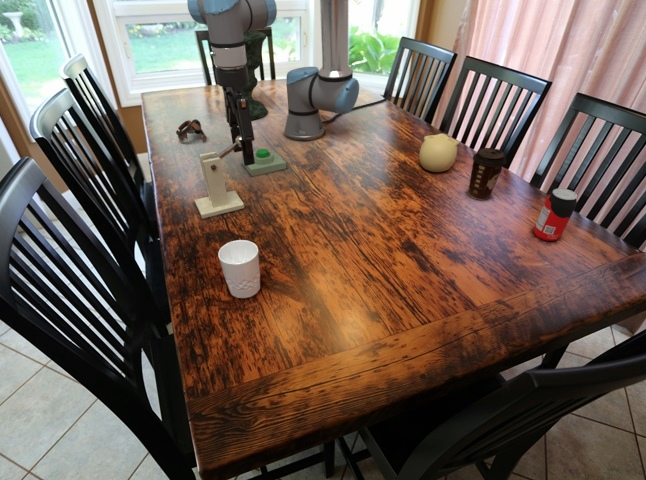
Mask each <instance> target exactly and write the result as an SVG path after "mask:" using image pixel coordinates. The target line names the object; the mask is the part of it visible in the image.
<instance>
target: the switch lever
mask: <svg viewBox="0 0 646 480" xmlns="http://www.w3.org/2000/svg"><path fill="white" fill-rule="evenodd" d="M239 140H242V138H241V135H238V136H237V137H236V142H235V143H234V144H233V143H232V144H231V145H230V146H228V147H227V148H225V149H224V150H223V151H220V152H219V153H218V154H217V156H215V157H214V158H218V157H219V158H220V160H222V159H223V158H225V157H226V156H227V155H229V154H230V153H232V152H234V149H236V148H237V147H241V143H240V142H239ZM208 159H213V156H212V155H211V156H209V157H208V158H207V159H205V160H208Z"/></svg>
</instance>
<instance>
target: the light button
mask: <svg viewBox="0 0 646 480" xmlns="http://www.w3.org/2000/svg"><path fill="white" fill-rule="evenodd" d="M269 151H270V150H269V149H268V148H259V149H257V150H256V151H255V152H257V157H258V158H266V157H268V156H269Z"/></svg>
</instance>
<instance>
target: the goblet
mask: <svg viewBox="0 0 646 480" xmlns="http://www.w3.org/2000/svg"><path fill="white" fill-rule="evenodd" d="M243 36H244V44H245V51H246V59H247V63H246V64H245V66H246V67H247V69H248V78H249V82H248V84H247V85H244V86H243V87H242V91H243V93H244V94H245V97H246V98H248V100H249V101H248V102H249V111H250V116H251V121H253V120H258V119H261V118H264V116H266V115H267V114H268V109H267V107H266V105H265V104H263V102H261V101H260V100H257V99H254V97H253V91H254V89H255V88H256V87H257V85H258V83H259V82H258V81H259V80H258V78H257V77H256V76H255V71H256V70H257V69H258V68H259V67H260V66H261V65H262V62H263V58H262V50H263V45H264V42H265V40H266V39H267V34H266V33H264V32H262V31H257V30H253V31H249V32H245V33H243ZM207 42H208V43H209V44H211V43H210V37H209V36H207Z"/></svg>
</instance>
